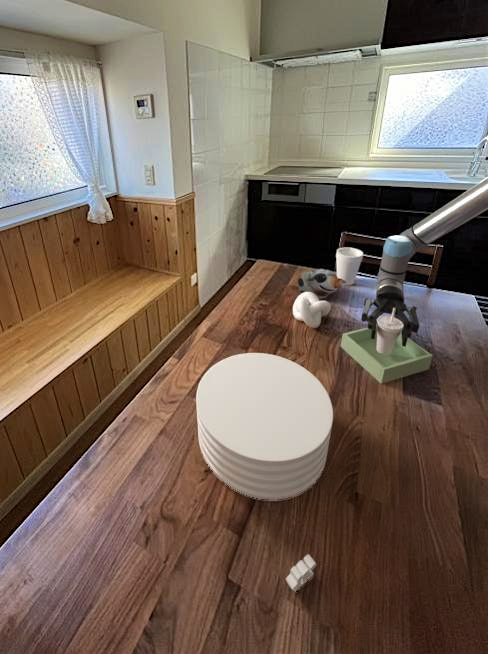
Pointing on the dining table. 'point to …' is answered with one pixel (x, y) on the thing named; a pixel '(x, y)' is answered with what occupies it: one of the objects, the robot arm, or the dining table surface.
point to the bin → (385, 356)
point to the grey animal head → (319, 282)
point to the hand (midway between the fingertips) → (388, 338)
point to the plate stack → (263, 425)
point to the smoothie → (388, 333)
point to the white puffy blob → (310, 309)
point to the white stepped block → (301, 573)
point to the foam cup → (348, 263)
